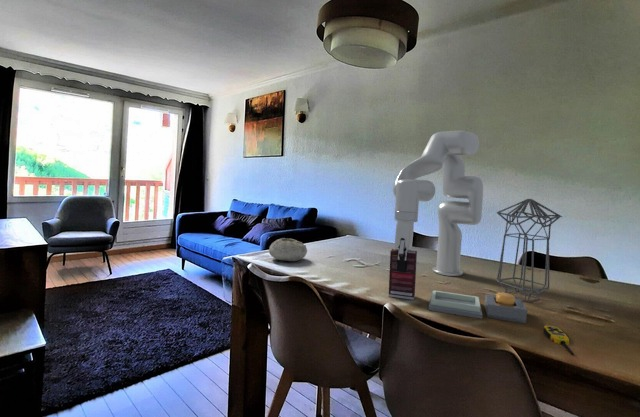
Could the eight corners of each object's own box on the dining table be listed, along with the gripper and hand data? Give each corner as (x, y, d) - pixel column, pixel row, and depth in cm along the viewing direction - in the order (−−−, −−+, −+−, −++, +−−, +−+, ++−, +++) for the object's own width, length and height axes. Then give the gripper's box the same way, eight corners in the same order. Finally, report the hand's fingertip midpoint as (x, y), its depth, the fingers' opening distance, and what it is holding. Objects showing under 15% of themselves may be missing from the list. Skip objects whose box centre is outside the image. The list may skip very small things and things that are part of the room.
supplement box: (414, 295, 118) (417, 250, 117) (413, 300, 114) (416, 253, 112) (389, 292, 121) (392, 248, 120) (387, 296, 117) (390, 250, 115)
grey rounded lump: (308, 257, 171) (309, 237, 170) (303, 266, 154) (304, 243, 153) (273, 255, 173) (274, 235, 172) (264, 263, 155) (265, 241, 154)
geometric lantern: (529, 307, 111) (539, 200, 108) (486, 292, 125) (494, 197, 122) (557, 301, 119) (567, 200, 116) (513, 287, 132) (521, 197, 130)
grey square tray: (431, 296, 119) (431, 288, 118) (479, 303, 113) (479, 295, 113) (428, 310, 106) (429, 301, 105) (482, 318, 100) (482, 309, 100)
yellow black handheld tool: (560, 325, 94) (585, 351, 79) (559, 332, 94) (584, 359, 80) (540, 323, 95) (561, 347, 81) (539, 329, 95) (560, 355, 81)
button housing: (484, 306, 111) (485, 294, 111) (519, 311, 107) (520, 299, 107) (487, 317, 102) (488, 304, 101) (525, 323, 98) (527, 310, 98)
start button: (494, 300, 107) (495, 291, 107) (512, 303, 106) (513, 294, 105) (496, 306, 103) (497, 296, 103) (515, 309, 101) (516, 299, 101)
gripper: (398, 213, 124) (395, 263, 126) (390, 218, 109) (387, 274, 110) (420, 215, 122) (416, 265, 123) (414, 219, 106) (411, 277, 107)
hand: (402, 269), depth 117 cm, fingers closed on supplement box, 4 cm apart
